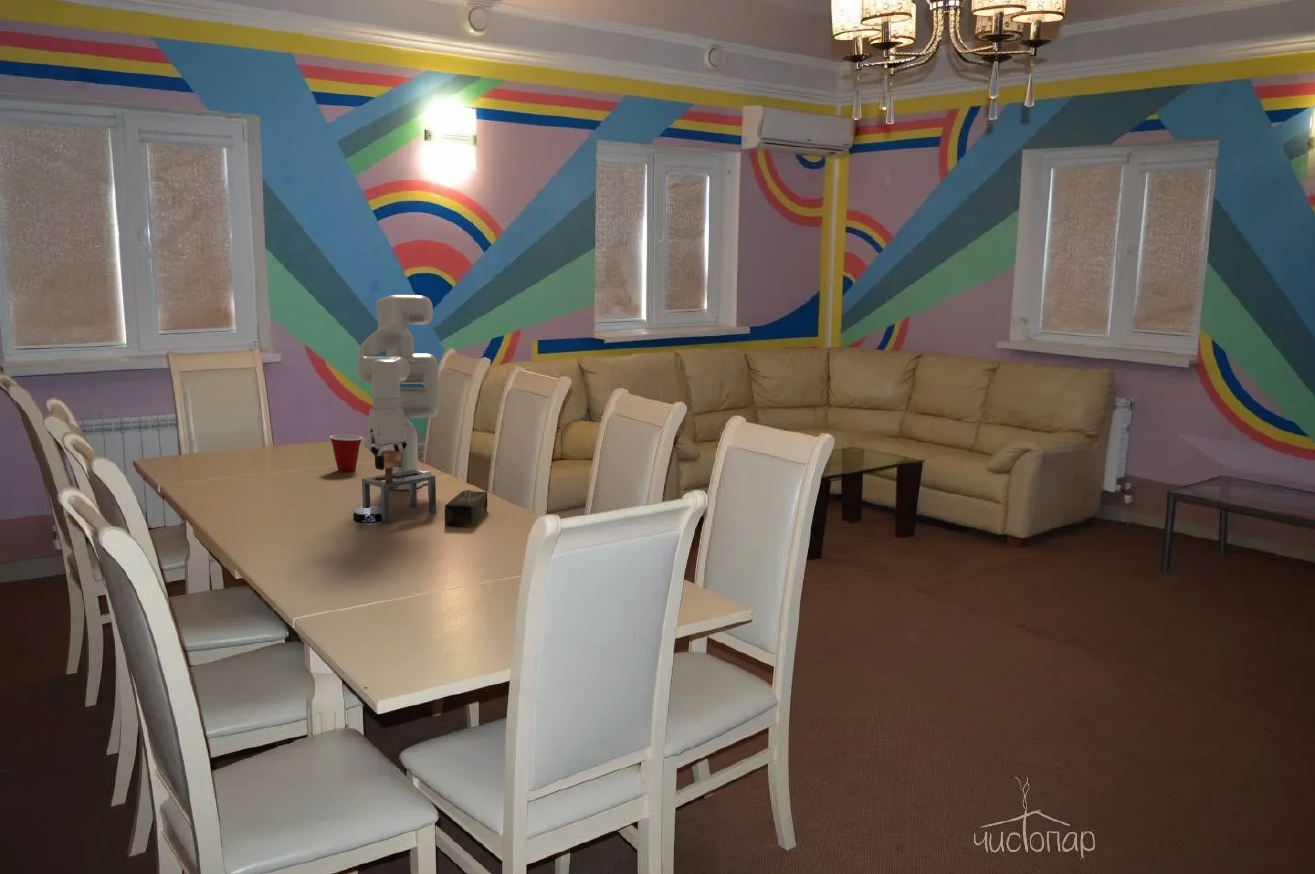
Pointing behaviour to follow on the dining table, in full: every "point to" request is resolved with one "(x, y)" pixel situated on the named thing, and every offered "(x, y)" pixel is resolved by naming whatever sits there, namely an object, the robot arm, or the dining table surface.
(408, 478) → the keyhole rack
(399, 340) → the robot arm
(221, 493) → the dining table surface
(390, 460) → the t peg
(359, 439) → the plastic cup
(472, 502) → the beverage carton
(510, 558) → the dining table surface
